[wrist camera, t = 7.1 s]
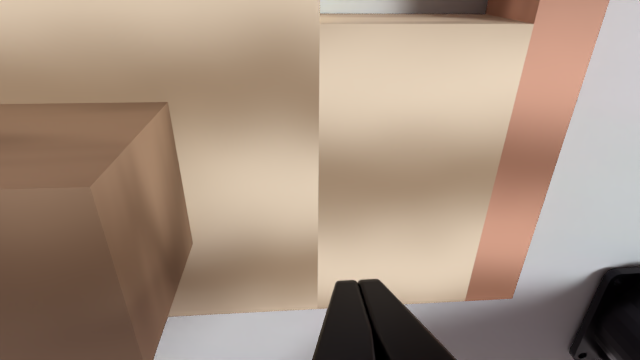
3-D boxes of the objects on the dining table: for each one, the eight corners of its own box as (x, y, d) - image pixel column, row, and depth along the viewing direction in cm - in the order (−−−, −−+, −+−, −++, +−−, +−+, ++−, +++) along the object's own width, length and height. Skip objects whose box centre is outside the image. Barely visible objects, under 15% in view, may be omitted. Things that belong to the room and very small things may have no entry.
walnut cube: (193, 243, 13) (147, 375, 9) (41, 249, 13) (-84, 389, 9) (167, 102, 11) (90, 186, 7) (-19, 104, 11) (-231, 196, 6)
